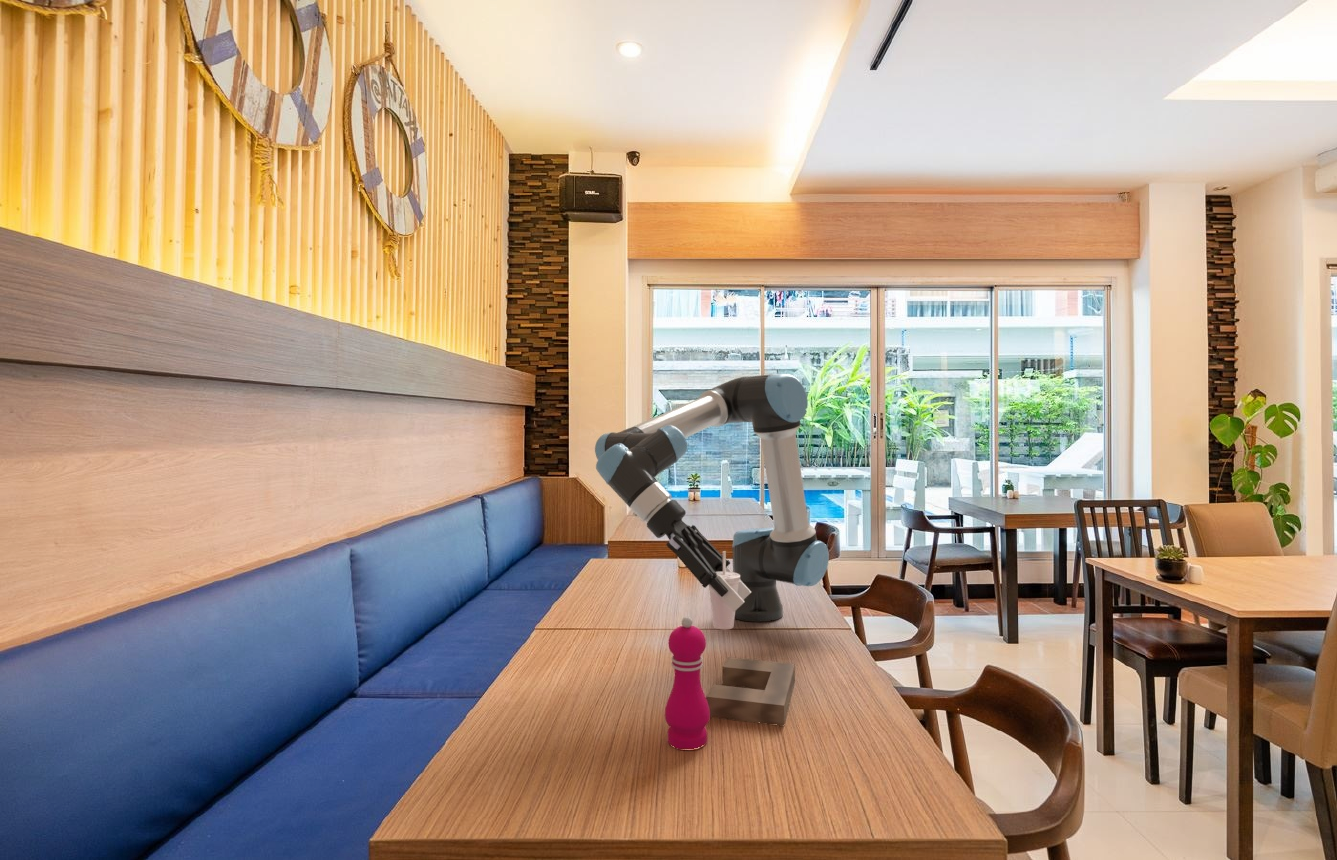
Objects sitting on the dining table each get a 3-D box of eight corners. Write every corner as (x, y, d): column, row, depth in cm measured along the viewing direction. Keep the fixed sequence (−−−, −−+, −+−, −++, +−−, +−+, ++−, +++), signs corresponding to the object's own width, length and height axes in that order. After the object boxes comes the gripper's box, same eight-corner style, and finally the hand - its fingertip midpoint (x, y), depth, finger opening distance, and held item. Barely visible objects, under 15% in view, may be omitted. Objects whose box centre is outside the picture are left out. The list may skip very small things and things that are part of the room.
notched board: (706, 716, 111) (705, 696, 111) (727, 674, 130) (727, 657, 131) (784, 726, 108) (784, 705, 108) (794, 681, 127) (794, 663, 127)
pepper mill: (695, 757, 97) (695, 626, 97) (656, 745, 101) (655, 619, 101) (717, 738, 104) (717, 614, 104) (679, 727, 107) (679, 608, 107)
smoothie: (744, 623, 122) (744, 549, 122) (736, 633, 116) (735, 556, 116) (711, 619, 124) (711, 547, 124) (702, 629, 118) (702, 554, 118)
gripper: (661, 517, 133) (738, 601, 129) (628, 532, 115) (717, 630, 110) (685, 492, 132) (764, 576, 127) (656, 503, 113) (747, 602, 109)
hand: (742, 601), depth 119 cm, fingers closed on smoothie, 6 cm apart
